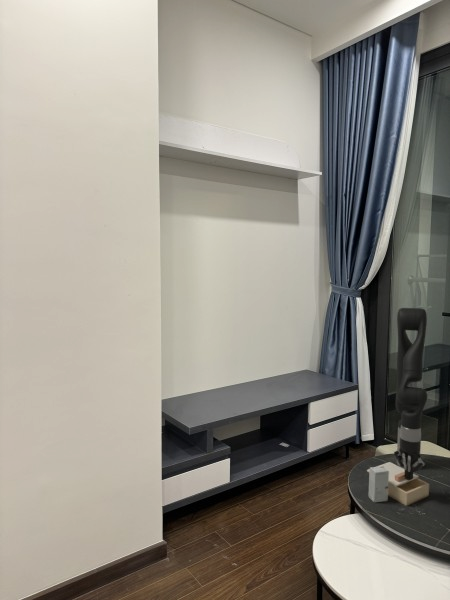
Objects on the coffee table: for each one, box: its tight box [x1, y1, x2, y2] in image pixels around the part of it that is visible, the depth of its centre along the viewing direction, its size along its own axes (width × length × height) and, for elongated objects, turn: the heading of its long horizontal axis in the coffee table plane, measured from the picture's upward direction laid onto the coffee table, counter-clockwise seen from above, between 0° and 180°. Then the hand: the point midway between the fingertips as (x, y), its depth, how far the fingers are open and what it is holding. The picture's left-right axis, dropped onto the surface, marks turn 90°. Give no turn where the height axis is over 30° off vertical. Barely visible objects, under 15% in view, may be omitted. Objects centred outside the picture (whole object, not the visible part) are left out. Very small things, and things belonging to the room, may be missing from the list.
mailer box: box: [388, 478, 430, 507], centre depth 170 cm, size 14×14×5 cm
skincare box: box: [368, 466, 389, 503], centre depth 165 cm, size 6×4×12 cm
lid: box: [366, 461, 420, 487], centre depth 173 cm, size 14×14×3 cm
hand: (408, 479), depth 167 cm, fingers closed
